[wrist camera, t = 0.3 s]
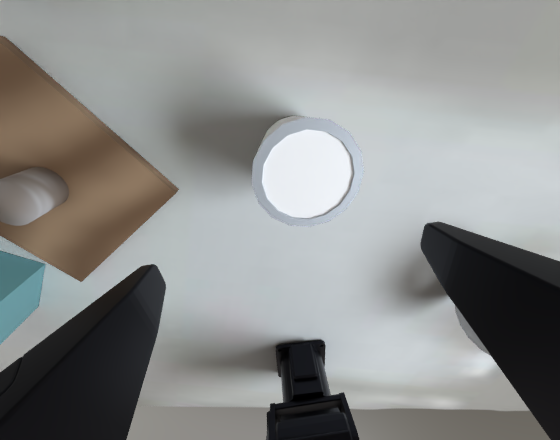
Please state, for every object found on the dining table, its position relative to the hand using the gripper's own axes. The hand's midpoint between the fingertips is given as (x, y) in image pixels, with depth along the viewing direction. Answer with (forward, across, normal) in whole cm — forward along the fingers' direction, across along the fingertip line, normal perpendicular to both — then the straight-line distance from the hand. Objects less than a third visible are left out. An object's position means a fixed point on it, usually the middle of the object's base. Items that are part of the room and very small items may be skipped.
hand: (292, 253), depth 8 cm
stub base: (+14, +18, 0) cm, 23 cm away
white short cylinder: (+15, -2, +1) cm, 15 cm away
